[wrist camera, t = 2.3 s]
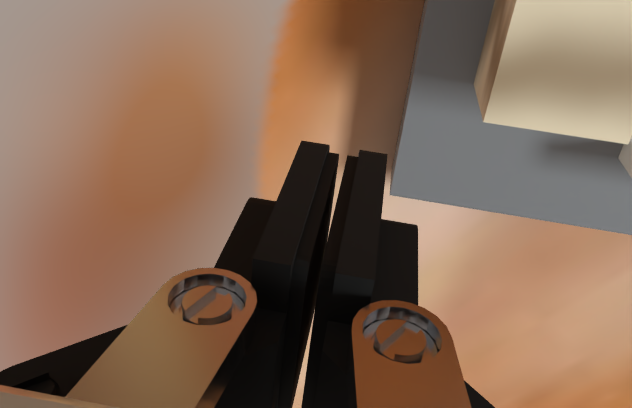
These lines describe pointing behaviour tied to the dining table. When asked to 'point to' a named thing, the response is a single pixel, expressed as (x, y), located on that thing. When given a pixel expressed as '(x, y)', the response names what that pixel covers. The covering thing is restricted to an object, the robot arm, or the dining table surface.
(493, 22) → the birch block
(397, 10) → the dining table surface
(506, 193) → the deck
